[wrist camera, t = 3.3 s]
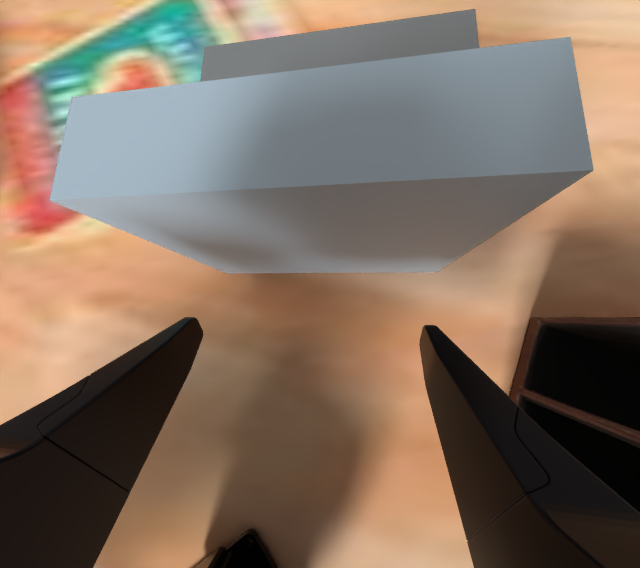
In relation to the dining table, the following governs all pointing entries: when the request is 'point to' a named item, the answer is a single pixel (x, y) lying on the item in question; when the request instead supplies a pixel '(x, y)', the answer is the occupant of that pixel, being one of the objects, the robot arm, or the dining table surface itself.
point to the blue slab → (333, 159)
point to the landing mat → (343, 46)
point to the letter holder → (587, 393)
